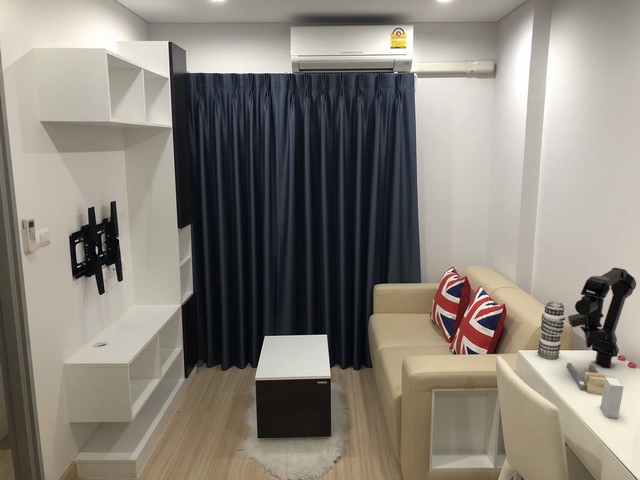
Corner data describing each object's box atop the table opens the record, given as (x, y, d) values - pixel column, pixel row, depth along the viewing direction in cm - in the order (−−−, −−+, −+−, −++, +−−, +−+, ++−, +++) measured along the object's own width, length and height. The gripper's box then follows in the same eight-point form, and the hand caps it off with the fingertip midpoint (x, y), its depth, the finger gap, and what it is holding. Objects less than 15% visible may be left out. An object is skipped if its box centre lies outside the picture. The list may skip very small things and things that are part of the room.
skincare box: (618, 418, 181) (624, 386, 179) (605, 417, 182) (610, 385, 180) (612, 409, 187) (618, 378, 185) (599, 408, 188) (604, 377, 186)
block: (583, 386, 201) (585, 372, 200) (600, 388, 200) (602, 373, 199) (587, 392, 196) (589, 378, 195) (604, 394, 195) (607, 380, 194)
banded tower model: (551, 352, 233) (559, 299, 228) (563, 362, 224) (571, 306, 219) (532, 353, 232) (539, 299, 226) (543, 362, 223) (551, 306, 217)
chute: (563, 369, 218) (564, 361, 217) (594, 372, 216) (596, 365, 215) (577, 392, 199) (578, 384, 198) (611, 396, 196) (613, 388, 196)
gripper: (565, 300, 215) (560, 336, 218) (578, 315, 197) (572, 354, 201) (594, 302, 213) (589, 338, 216) (610, 318, 195) (604, 358, 199)
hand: (588, 347), depth 208 cm, fingers closed
